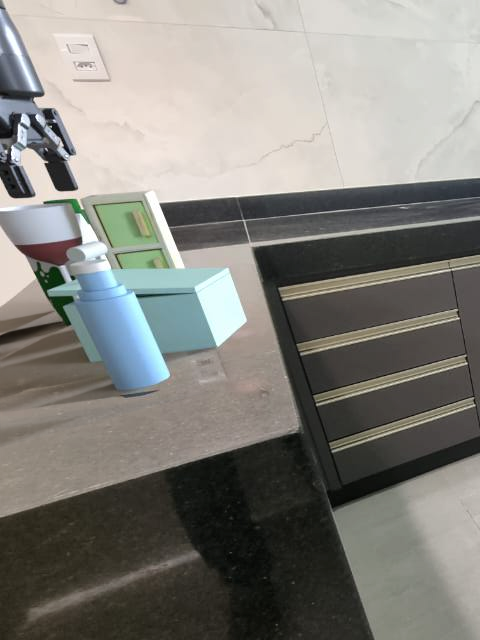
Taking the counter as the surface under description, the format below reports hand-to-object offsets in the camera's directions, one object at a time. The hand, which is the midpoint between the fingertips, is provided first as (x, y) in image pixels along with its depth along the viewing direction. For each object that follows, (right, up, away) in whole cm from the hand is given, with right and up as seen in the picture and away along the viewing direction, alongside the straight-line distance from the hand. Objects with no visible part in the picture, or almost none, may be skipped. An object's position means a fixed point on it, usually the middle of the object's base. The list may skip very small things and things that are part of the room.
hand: (47, 194), depth 69 cm
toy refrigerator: (-3, -15, +22) cm, 27 cm away
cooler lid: (+7, -11, +7) cm, 14 cm away
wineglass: (-12, -17, +18) cm, 28 cm away
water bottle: (+15, -25, -2) cm, 30 cm away
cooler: (+8, -20, +11) cm, 24 cm away
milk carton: (-19, -14, +25) cm, 34 cm away
